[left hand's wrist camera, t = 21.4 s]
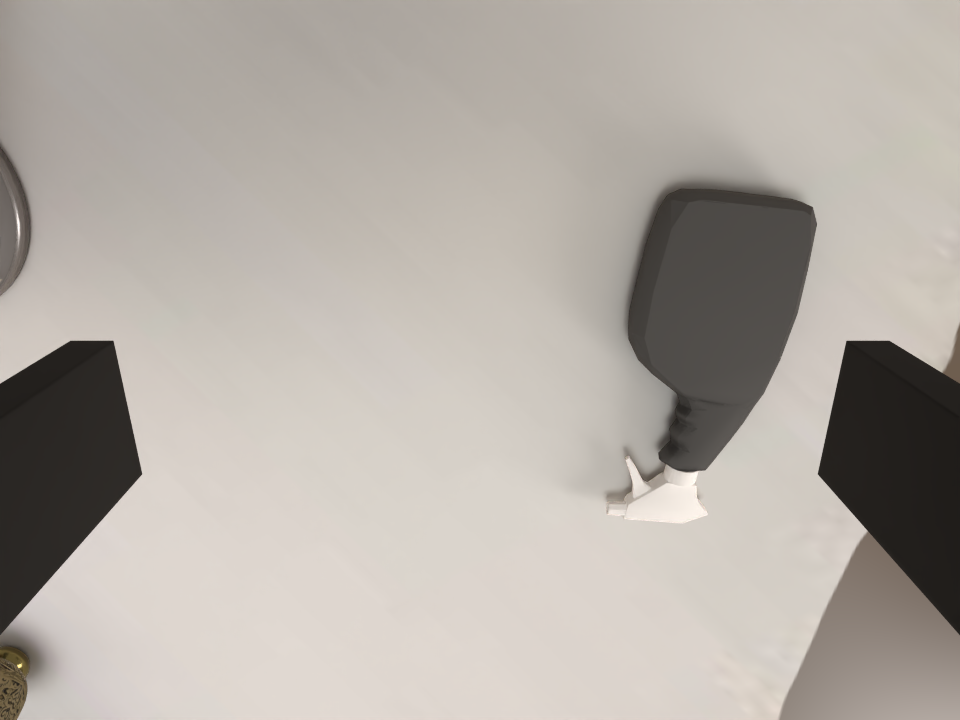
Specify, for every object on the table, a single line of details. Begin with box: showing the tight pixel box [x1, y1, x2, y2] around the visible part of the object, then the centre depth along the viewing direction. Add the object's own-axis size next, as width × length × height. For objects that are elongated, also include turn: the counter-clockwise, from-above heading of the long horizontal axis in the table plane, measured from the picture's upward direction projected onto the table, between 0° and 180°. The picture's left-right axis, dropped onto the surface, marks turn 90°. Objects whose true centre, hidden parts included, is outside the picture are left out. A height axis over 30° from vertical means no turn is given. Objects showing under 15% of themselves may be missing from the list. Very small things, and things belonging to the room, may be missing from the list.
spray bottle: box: [606, 189, 817, 523], centre depth 47 cm, size 3×11×24 cm
